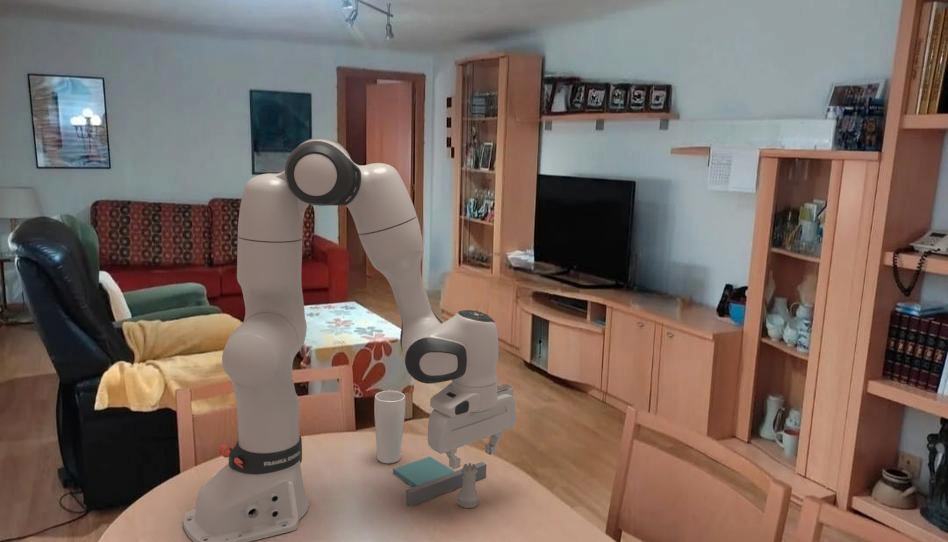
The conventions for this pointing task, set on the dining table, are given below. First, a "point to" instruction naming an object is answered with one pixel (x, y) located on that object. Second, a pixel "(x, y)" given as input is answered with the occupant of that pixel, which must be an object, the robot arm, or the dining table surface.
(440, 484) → the low wall
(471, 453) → the dining table surface
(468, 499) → the rook chess piece
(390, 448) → the drinking glass
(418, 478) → the coaster
